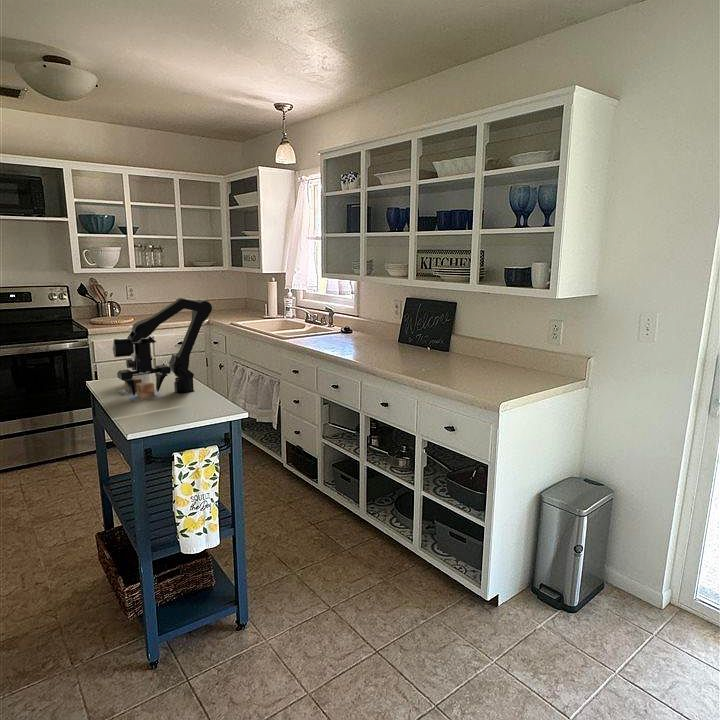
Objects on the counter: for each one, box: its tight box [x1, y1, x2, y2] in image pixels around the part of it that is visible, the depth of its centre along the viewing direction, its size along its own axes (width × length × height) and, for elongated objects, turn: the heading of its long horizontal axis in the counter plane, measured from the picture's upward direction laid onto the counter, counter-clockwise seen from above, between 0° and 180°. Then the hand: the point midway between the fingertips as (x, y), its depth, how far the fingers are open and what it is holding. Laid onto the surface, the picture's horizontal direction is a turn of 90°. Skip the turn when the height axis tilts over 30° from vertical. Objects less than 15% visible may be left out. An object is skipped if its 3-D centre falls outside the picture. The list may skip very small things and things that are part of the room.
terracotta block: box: [136, 381, 155, 399], centre depth 206 cm, size 5×5×5 cm
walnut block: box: [124, 377, 142, 393], centre depth 214 cm, size 5×5×5 cm
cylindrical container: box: [128, 325, 152, 383], centre depth 227 cm, size 7×7×25 cm
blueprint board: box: [118, 389, 166, 402], centre depth 211 cm, size 12×19×1 cm, turn 41°
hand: (145, 393), depth 207 cm, fingers open, 9 cm apart
